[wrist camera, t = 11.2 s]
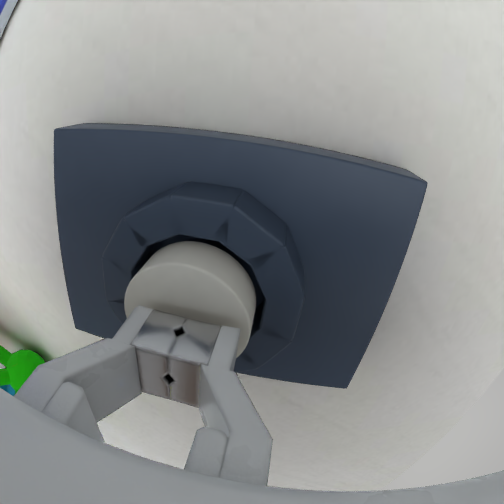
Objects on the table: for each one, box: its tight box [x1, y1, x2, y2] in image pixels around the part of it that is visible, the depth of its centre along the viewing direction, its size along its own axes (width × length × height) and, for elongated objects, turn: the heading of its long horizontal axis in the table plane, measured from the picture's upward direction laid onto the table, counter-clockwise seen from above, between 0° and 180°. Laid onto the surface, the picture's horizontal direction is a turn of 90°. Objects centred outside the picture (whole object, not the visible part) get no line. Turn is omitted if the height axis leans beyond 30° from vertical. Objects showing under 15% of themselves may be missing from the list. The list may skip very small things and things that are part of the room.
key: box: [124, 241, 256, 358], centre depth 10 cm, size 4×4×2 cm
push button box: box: [54, 123, 427, 388], centre depth 12 cm, size 14×10×4 cm
